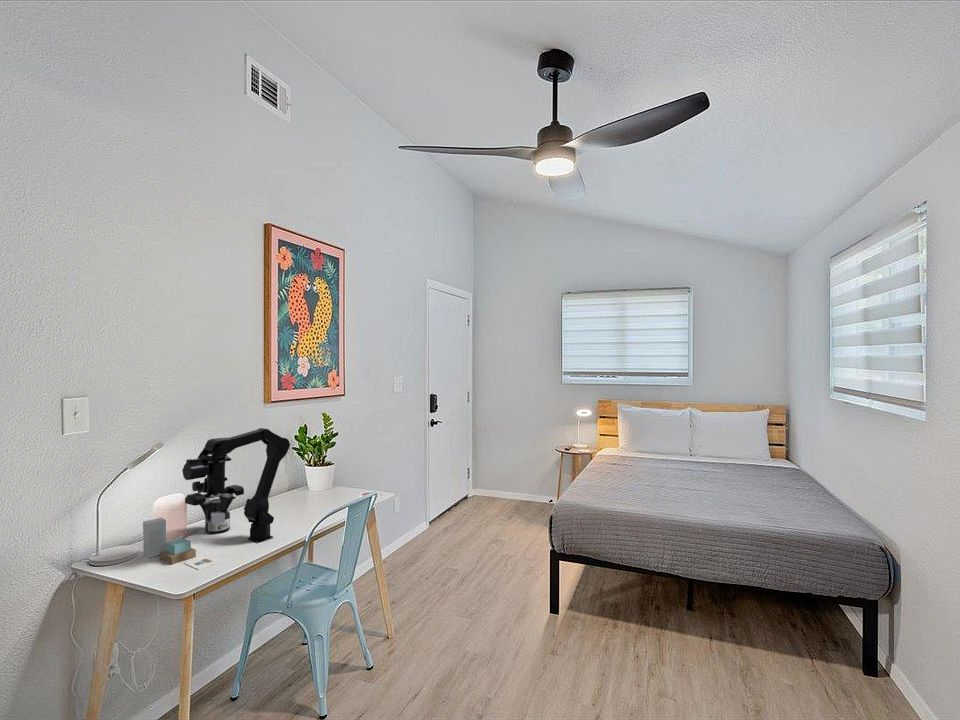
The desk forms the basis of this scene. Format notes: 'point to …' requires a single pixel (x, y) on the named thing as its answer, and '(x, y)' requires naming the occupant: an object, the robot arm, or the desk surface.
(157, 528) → the skincare box
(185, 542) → the teal block
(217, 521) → the grey block
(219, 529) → the ink bottle
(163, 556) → the base block
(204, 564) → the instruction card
